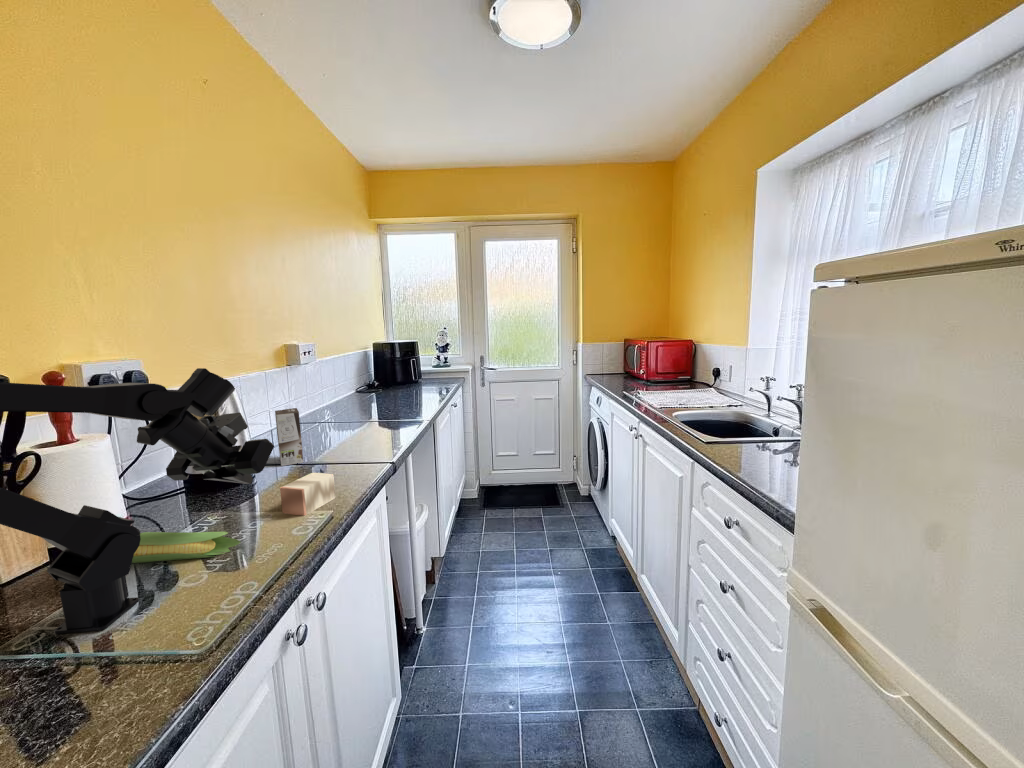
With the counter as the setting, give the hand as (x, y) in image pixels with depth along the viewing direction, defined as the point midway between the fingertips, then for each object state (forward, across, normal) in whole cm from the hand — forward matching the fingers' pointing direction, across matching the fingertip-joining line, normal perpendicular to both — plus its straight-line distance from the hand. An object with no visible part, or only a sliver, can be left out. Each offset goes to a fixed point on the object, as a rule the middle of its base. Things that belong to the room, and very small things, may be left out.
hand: (250, 481), depth 83 cm
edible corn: (+2, +9, +14) cm, 17 cm away
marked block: (+12, -1, -2) cm, 12 cm away
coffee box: (+36, +26, -29) cm, 53 cm away
